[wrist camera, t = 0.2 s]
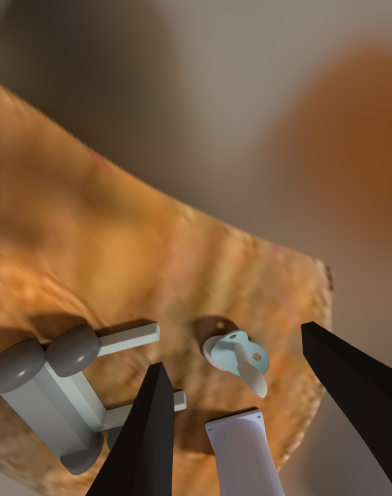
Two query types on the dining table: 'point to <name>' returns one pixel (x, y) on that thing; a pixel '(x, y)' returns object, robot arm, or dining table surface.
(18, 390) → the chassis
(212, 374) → the dining table surface
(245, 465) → the robot arm
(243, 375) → the pacifier
